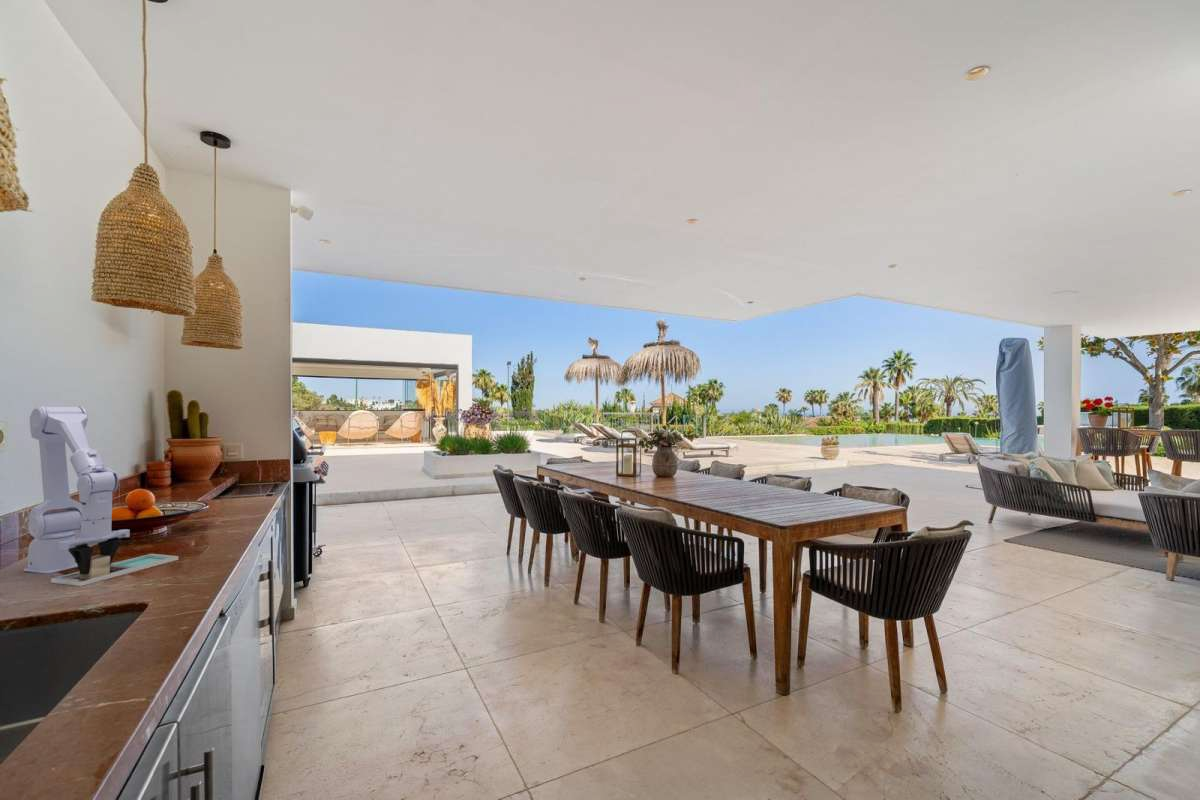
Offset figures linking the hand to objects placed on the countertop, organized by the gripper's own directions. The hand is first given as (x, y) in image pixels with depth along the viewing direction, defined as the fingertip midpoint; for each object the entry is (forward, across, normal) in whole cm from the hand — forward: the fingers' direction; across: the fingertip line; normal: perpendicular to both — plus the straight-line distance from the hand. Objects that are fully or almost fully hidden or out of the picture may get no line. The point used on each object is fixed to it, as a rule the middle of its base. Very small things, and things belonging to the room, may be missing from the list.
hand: (95, 571), depth 135 cm
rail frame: (+1, +6, 0) cm, 6 cm away
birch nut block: (+1, 0, 0) cm, 1 cm away
